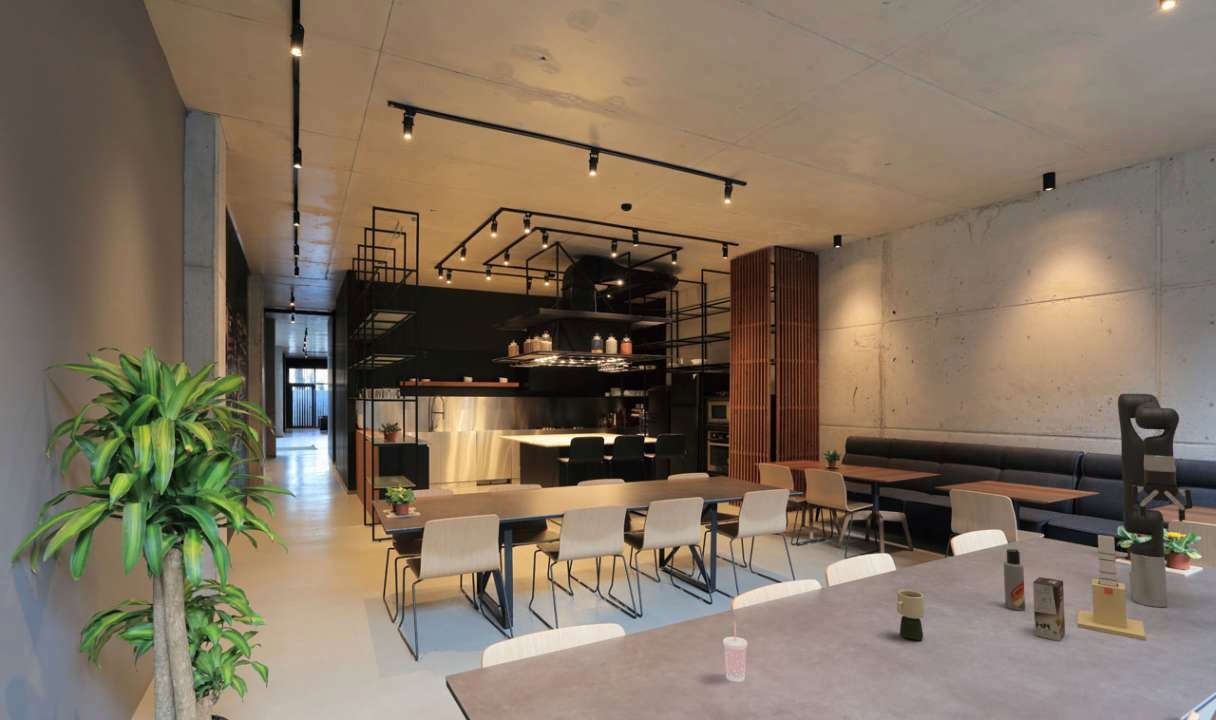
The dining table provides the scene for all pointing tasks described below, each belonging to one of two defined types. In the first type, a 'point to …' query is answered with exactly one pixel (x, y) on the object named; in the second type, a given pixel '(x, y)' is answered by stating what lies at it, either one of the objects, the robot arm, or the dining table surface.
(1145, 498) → the robot arm
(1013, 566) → the lotion bottle
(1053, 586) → the coffee box
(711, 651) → the dining table surface
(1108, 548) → the column
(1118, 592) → the stand
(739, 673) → the beverage cup
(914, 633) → the character mug
